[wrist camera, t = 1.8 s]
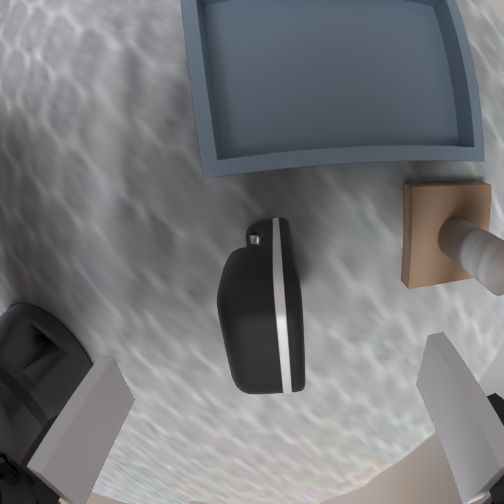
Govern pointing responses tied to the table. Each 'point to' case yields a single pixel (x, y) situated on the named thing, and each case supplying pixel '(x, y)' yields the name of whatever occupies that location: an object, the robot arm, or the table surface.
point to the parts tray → (330, 83)
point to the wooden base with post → (450, 236)
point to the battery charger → (263, 312)
